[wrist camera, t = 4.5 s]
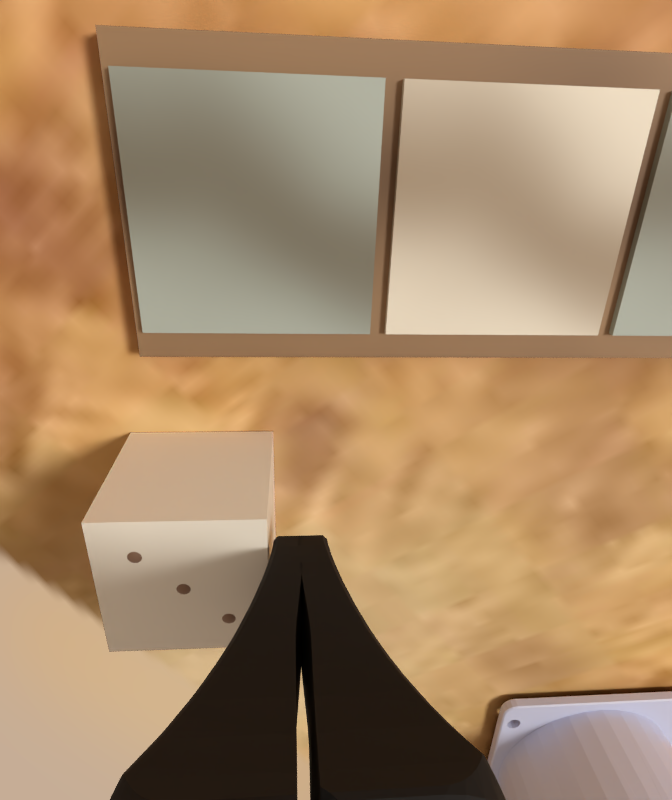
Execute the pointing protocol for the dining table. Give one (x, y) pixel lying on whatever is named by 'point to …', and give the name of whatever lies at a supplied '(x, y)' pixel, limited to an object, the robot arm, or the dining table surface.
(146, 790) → the robot arm
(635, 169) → the track
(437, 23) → the dining table surface
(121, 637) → the die
